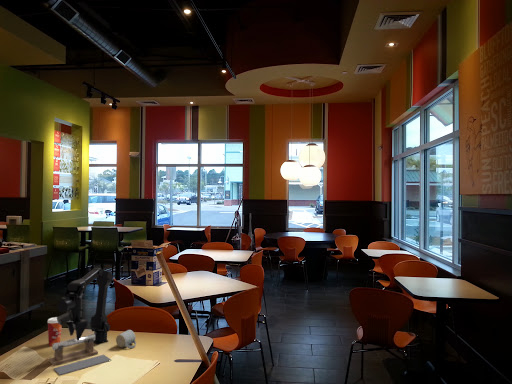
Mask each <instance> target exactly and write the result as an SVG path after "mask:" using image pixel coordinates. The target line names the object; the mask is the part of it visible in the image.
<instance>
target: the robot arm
mask: <svg viewBox="0 0 512 384" xmlns="http://www.w3.org/2000/svg"><path fill="white" fill-rule="evenodd" d="M95 279H96V284H97V286H98V288H97V289H98V290H97V291H98V292H97V298H96V308H95V314H94V315H93V316H91V318H90V329H91V332H93V334H95V340H94V343H95V344H96V345H100V344H102V343H107V342H109V340H108V332H109V331H110V329H111V325H110V323H109V322H108V317H107V314H106V307H107V298H108V289H109V287H110V285H111V284H112V281H113V273H112V272H111V271H108V270H105V269H103V268H101V267H94V268H92V269H91V270H90V271H89V272H88V273H86V274H85V275H83V277H80V278H79V279H75V280H73V281H71V282H69V283H68V285H67V287H66V289H65V292H64V294H63V297H60V301H58V302H57V304H56V308H57V310H58V312H59V313H62V314H61V315H59V316H56V317H57V321H58V324H60V325H62V326H64V325H65V324H66V325H67V328H68V332H69V335H70V336H73V335H74V334H75V336H76V338H77V340H80V338H81V337H83V336H82V335H83V334H84V332H85V330H86V328H87V327H88V326H89V322H88V321H87V320H86V319H84V317H83V316H82V312H84V309H83V297H85V294H84V292H85V291H86V290H87V287H88V285H89V284H91V283H92V282H93V281H94V280H95ZM94 343H93V344H94Z"/></svg>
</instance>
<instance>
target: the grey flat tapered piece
mask: <svg viewBox="0 0 512 384" xmlns="http://www.w3.org/2000/svg"><path fill="white" fill-rule="evenodd" d="M109 360H111V361H112V359H111V358H110V357H108V356H107V355H105V354H101V355H95V356H94V357H93V356H92V357H90V358H89V357H88V358H86V359H85V358H84V359H83V360H82V359H81V360H77V361H76V362H75V361H74V362H70V363H66V364H63V365H59V366H56V367H54V368H53V370H54V371H55V372H56V373H57V374H58V376H63V375H66V374H69V373H74V372H78V371H81V370H84V369H88V368H91V367H94V366H99V365H101V364H104V363H108V362H110V361H109ZM107 361H108V362H107Z"/></svg>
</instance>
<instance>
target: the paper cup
mask: <svg viewBox="0 0 512 384" xmlns="http://www.w3.org/2000/svg"><path fill="white" fill-rule="evenodd" d="M57 317H58V316H55V317H50V318H48V319H47V335H48V337H47V338H48V346H49V347H52V345H53V344H54V343H58V342H61V336H62V326H63V325H60V324H58V321H57Z"/></svg>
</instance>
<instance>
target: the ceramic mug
mask: <svg viewBox="0 0 512 384" xmlns="http://www.w3.org/2000/svg"><path fill="white" fill-rule="evenodd" d="M115 342H116V346H117V347H119V348H125V347H126V348H128V349H133V348H135V347H136V345H137V342H136V334H135V332H134V331H133V330H131V329H127V330H126V331H123V332H122V333H120V334H118V335H117V336H116V338H115ZM133 344H134V345H133Z"/></svg>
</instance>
